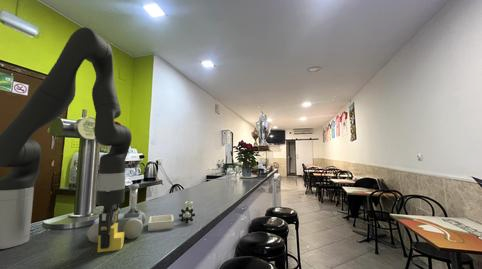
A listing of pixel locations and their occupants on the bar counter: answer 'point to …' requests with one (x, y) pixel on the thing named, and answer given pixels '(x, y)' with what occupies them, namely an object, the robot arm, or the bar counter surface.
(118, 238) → the block
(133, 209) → the pin
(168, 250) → the bar counter surface
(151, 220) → the tray
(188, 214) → the valve
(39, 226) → the bar counter surface
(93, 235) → the trolley
